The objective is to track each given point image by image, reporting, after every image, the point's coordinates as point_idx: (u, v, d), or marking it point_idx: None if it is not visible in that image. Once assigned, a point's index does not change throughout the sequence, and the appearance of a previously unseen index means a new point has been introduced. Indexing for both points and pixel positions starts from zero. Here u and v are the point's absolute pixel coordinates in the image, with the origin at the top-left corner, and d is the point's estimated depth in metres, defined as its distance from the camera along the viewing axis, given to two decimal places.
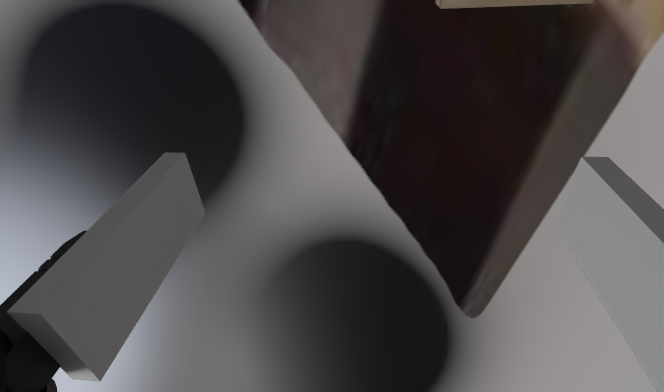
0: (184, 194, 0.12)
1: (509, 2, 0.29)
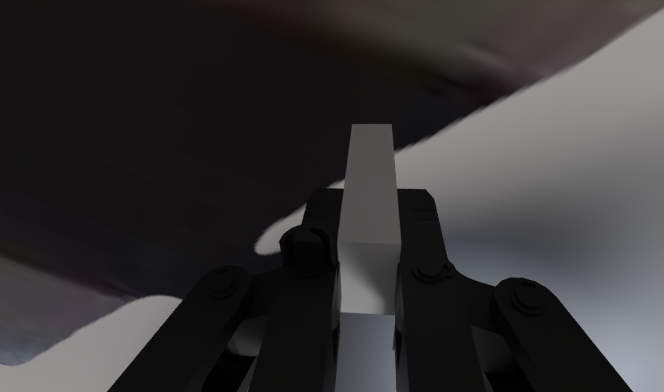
0: None
1: None
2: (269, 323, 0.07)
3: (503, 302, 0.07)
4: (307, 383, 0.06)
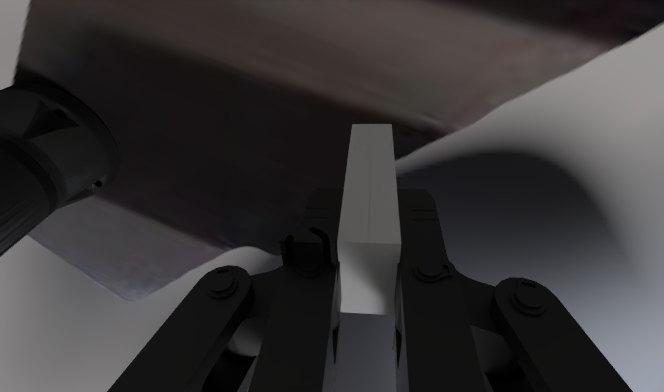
0: None
1: None
2: (268, 323, 0.07)
3: (503, 302, 0.07)
4: (307, 383, 0.06)
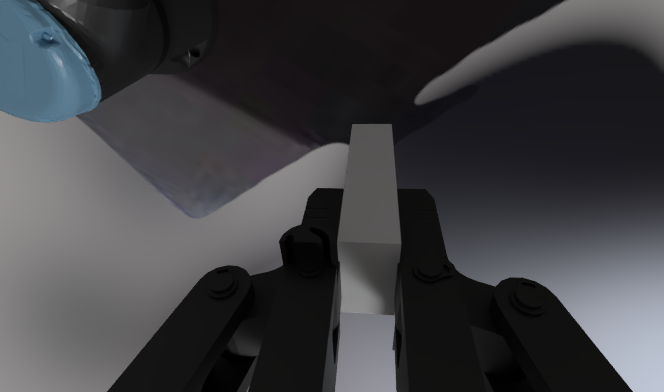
0: None
1: None
2: (269, 323, 0.07)
3: (503, 302, 0.07)
4: (307, 382, 0.06)
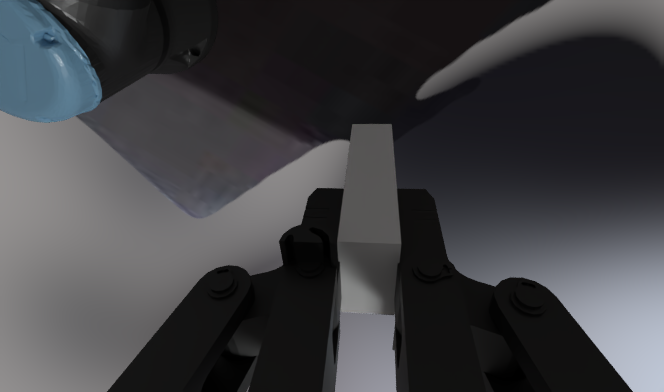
0: None
1: None
2: (268, 323, 0.07)
3: (503, 302, 0.07)
4: (307, 383, 0.06)
